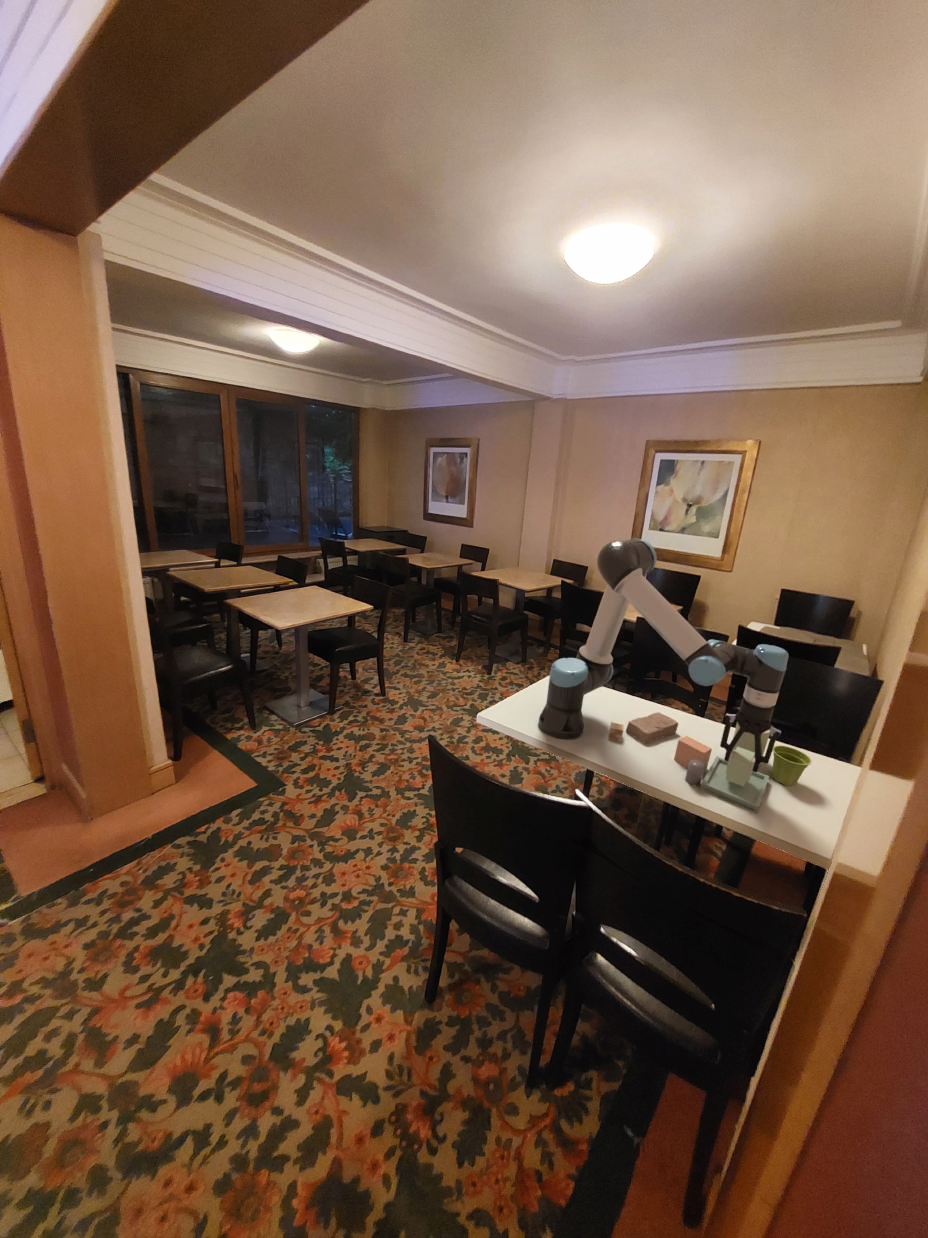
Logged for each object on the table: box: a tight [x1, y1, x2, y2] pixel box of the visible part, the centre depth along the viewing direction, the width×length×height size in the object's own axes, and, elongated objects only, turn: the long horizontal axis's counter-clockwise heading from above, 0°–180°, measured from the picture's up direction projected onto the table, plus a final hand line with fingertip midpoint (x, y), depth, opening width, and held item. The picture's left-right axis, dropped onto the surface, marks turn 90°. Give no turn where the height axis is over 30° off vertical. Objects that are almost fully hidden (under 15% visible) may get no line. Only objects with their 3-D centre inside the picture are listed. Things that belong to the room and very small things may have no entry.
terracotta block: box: [673, 735, 713, 771], centre depth 140 cm, size 4×8×7 cm, turn 35°
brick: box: [625, 711, 679, 744], centre depth 157 cm, size 17×8×5 cm, turn 120°
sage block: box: [726, 747, 755, 787], centre depth 130 cm, size 4×8×7 cm, turn 140°
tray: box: [699, 755, 770, 814], centre depth 132 cm, size 14×18×2 cm
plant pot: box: [771, 744, 812, 787], centre depth 135 cm, size 9×9×9 cm
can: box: [732, 721, 771, 765], centre depth 145 cm, size 9×9×12 cm
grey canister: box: [684, 760, 705, 787], centre depth 132 cm, size 4×4×6 cm
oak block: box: [608, 721, 625, 742], centre depth 153 cm, size 4×4×4 cm
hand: (737, 775), depth 131 cm, fingers closed on sage block, 4 cm apart
